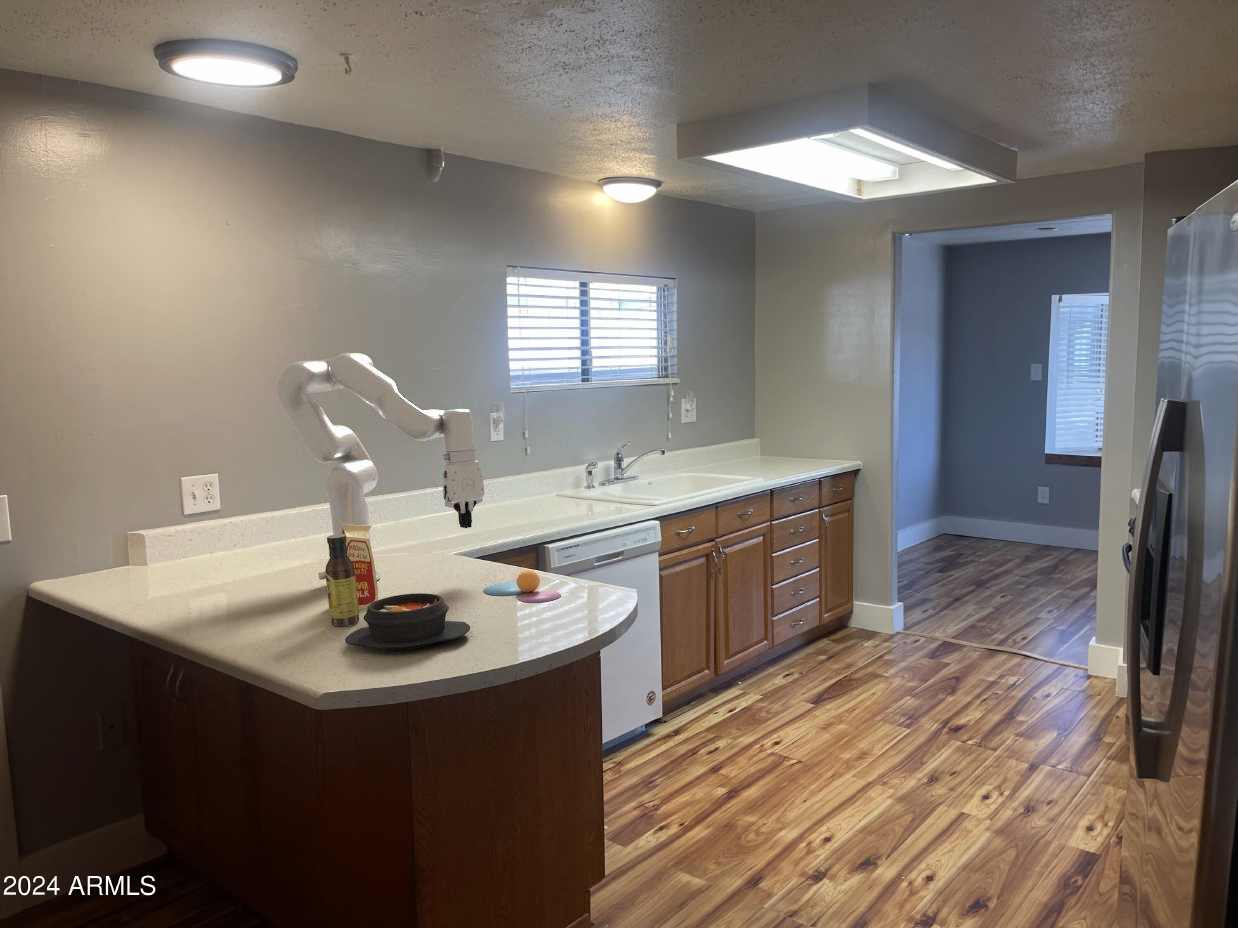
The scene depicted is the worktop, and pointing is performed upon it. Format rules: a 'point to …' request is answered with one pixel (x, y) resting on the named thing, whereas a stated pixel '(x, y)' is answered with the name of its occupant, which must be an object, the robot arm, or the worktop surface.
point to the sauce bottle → (341, 583)
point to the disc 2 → (539, 596)
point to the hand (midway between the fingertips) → (465, 527)
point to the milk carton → (362, 562)
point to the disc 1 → (503, 589)
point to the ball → (528, 581)
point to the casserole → (407, 623)
